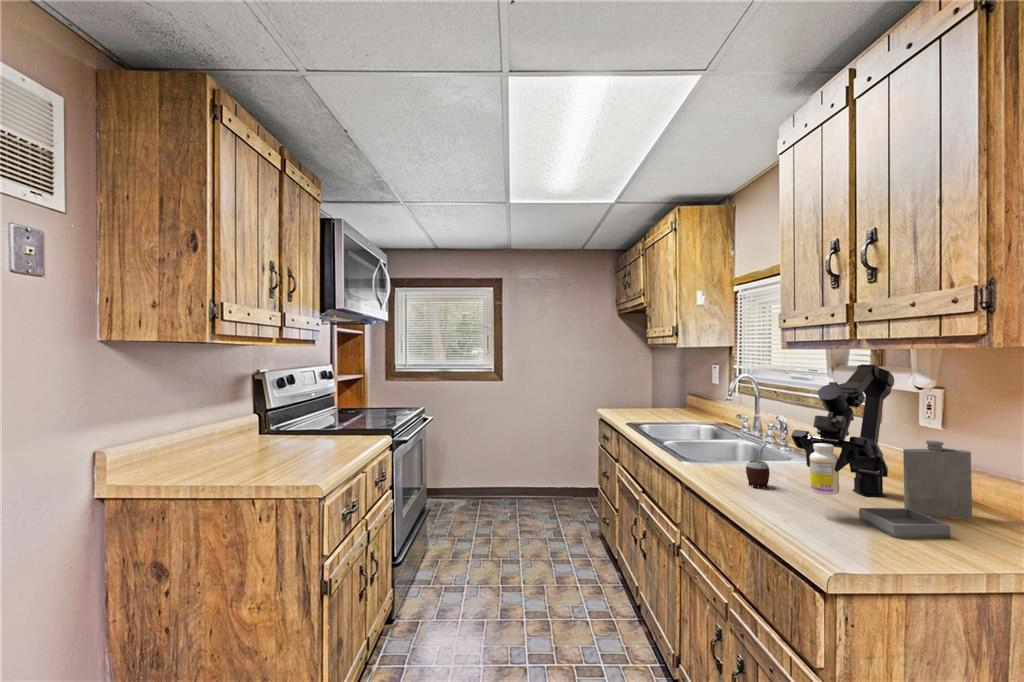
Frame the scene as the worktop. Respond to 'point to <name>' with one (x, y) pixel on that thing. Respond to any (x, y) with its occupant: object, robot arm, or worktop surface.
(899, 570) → the worktop surface
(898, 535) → the tray
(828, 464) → the supplement bottle
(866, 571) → the worktop surface
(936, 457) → the hip flask
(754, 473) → the mate gourd
